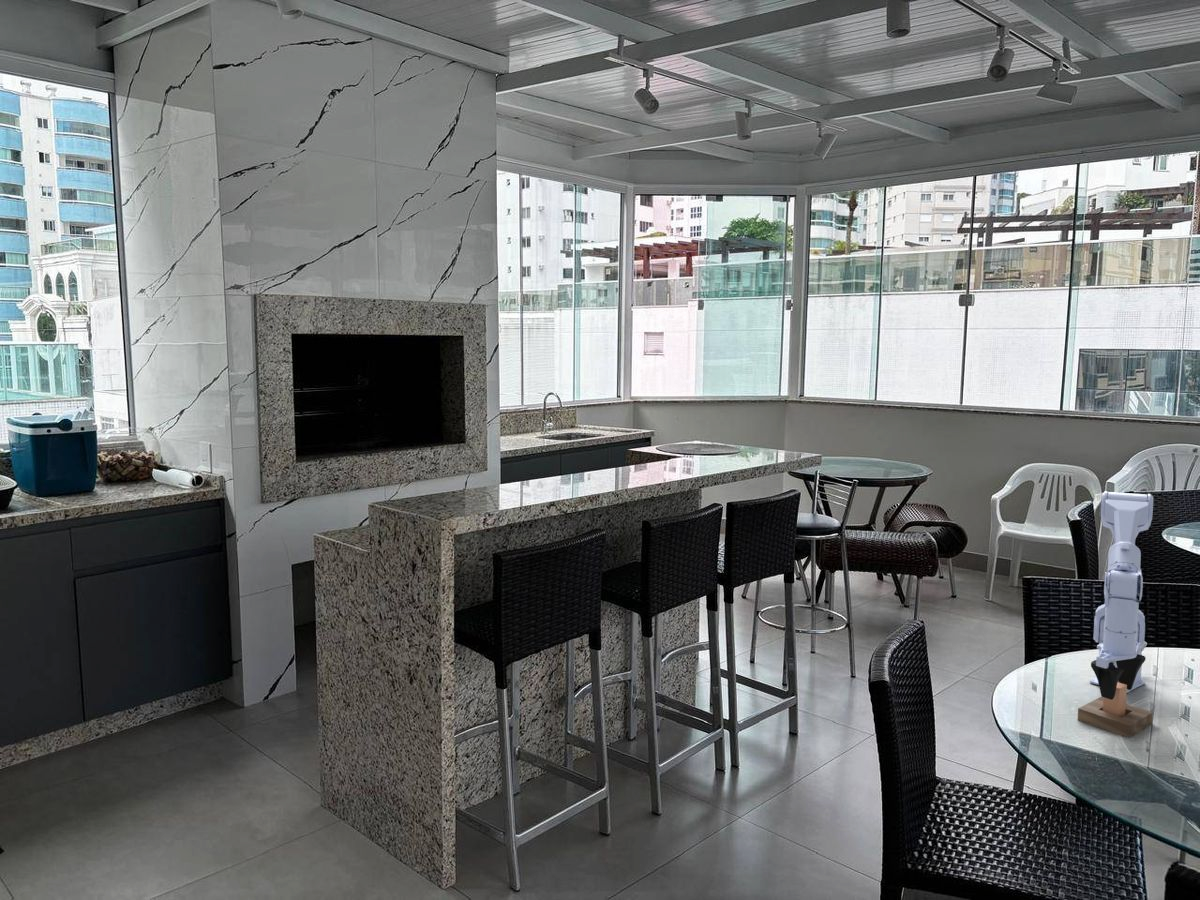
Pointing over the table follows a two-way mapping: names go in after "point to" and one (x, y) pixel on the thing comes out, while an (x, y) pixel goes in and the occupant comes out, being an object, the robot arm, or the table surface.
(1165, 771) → the table surface
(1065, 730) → the table surface
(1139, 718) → the socket
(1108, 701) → the peg
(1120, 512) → the robot arm
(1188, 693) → the table surface
